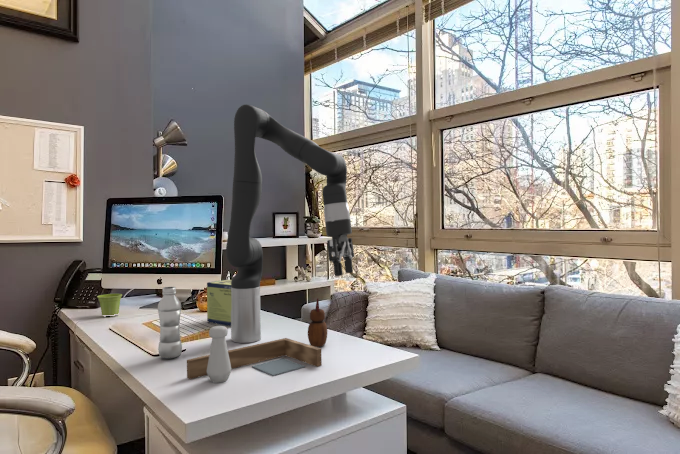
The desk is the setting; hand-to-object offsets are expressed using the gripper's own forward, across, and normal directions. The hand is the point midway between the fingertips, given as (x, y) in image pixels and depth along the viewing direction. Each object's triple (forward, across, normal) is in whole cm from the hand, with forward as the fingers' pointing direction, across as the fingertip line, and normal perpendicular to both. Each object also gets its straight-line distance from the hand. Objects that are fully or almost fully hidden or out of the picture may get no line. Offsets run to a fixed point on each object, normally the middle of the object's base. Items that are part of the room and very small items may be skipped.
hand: (344, 274), depth 135 cm
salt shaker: (+21, +33, -23) cm, 45 cm away
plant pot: (+9, -17, -114) cm, 115 cm away
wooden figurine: (+22, -4, -13) cm, 25 cm away
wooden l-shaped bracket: (+21, +24, -18) cm, 37 cm away
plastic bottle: (+18, +22, -47) cm, 55 cm away
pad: (+21, +19, -14) cm, 32 cm away
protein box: (+16, -24, -59) cm, 65 cm away
